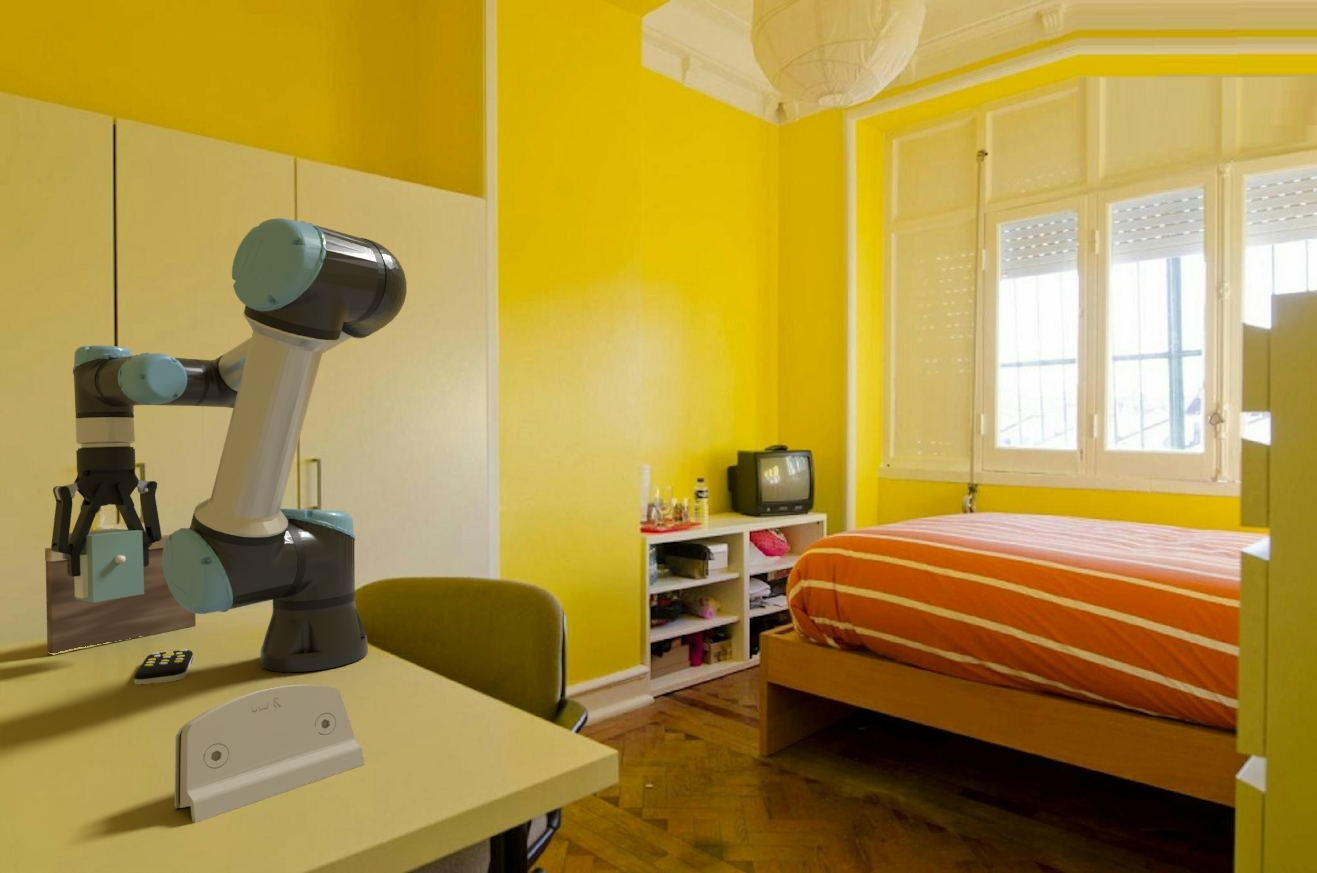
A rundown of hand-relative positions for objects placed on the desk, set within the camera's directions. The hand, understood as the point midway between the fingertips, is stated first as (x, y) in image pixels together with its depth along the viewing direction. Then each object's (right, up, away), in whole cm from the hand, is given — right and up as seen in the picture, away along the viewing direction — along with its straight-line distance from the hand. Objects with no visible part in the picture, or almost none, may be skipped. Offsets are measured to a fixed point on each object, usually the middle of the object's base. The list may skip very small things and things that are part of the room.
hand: (110, 592), depth 123 cm
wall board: (-6, -10, +12) cm, 17 cm away
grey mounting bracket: (+47, -10, -45) cm, 66 cm away
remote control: (+13, -11, -7) cm, 18 cm away
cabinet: (-1, -1, +1) cm, 2 cm away
